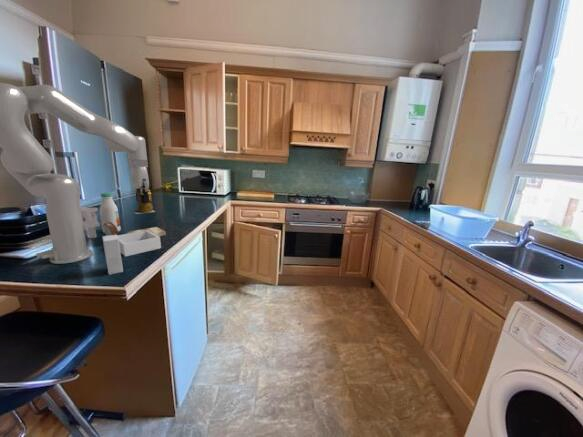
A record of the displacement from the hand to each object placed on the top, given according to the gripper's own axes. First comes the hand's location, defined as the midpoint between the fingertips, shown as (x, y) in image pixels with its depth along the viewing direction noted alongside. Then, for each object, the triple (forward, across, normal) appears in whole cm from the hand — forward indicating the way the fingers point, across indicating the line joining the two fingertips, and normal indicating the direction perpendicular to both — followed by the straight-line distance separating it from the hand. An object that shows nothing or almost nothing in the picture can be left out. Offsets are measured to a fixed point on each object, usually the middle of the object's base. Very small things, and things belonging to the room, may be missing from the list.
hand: (142, 201), depth 122 cm
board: (+17, 0, 0) cm, 17 cm away
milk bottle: (+17, -19, -10) cm, 28 cm away
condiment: (+5, 0, 0) cm, 5 cm away
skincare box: (+17, +35, -22) cm, 45 cm away
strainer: (+17, -14, -19) cm, 29 cm away
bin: (+17, +16, -9) cm, 25 cm away
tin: (+17, -1, -14) cm, 22 cm away
